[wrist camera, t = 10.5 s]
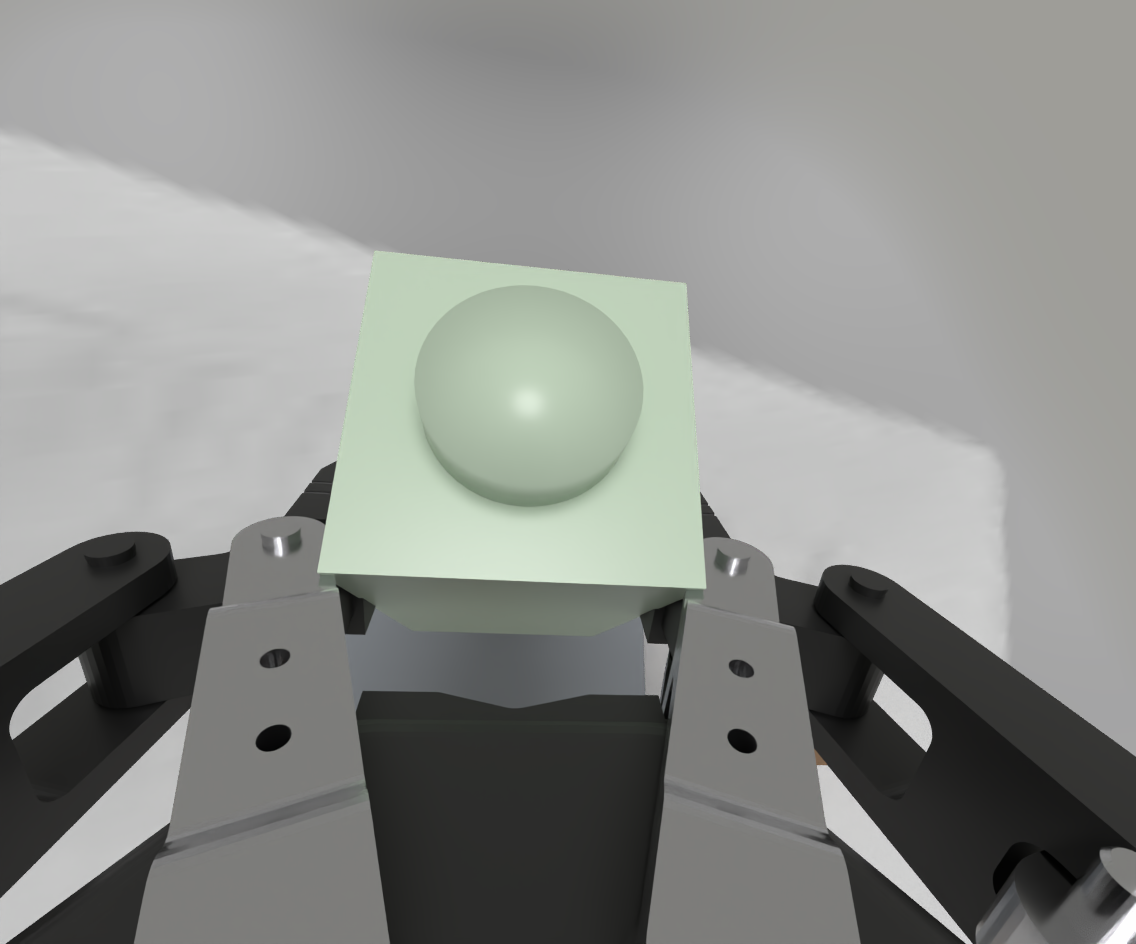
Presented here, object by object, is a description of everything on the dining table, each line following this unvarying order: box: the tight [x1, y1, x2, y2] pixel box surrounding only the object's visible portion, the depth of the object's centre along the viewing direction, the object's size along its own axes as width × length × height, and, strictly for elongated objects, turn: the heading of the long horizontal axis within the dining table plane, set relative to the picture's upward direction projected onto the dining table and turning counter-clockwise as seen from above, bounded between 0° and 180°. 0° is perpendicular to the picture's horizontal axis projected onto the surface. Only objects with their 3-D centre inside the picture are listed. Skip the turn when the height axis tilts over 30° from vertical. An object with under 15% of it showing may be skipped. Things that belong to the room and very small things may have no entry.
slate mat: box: [345, 608, 645, 712], centre depth 27 cm, size 14×14×1 cm
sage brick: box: [317, 251, 706, 636], centre depth 12 cm, size 5×5×10 cm
